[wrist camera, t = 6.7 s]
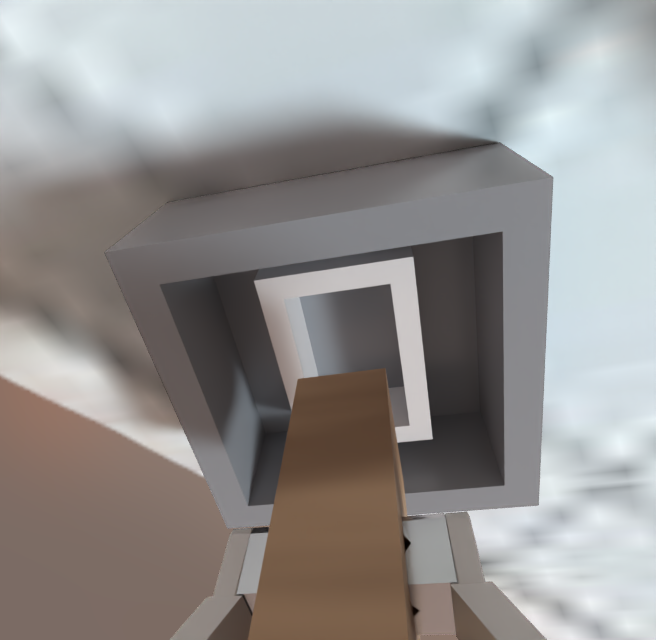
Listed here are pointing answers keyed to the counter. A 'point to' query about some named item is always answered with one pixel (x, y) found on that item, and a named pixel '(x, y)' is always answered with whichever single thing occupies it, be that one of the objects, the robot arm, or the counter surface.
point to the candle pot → (356, 319)
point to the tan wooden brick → (337, 520)
